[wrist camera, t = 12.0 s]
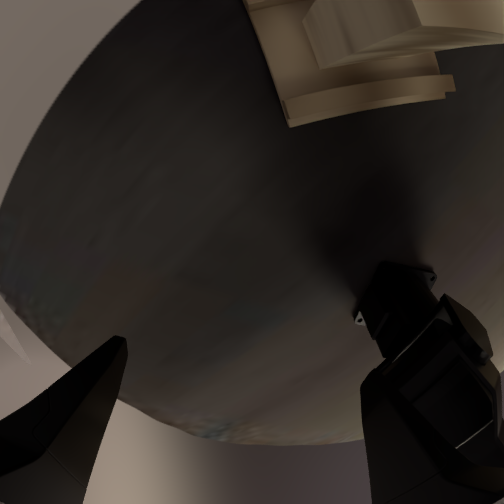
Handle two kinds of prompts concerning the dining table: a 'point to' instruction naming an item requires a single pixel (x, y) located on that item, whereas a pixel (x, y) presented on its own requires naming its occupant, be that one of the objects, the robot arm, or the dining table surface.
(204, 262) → the dining table surface
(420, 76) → the wooden tray
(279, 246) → the dining table surface
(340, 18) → the wooden block
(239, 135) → the dining table surface
